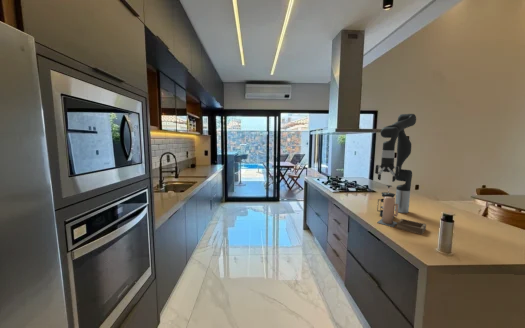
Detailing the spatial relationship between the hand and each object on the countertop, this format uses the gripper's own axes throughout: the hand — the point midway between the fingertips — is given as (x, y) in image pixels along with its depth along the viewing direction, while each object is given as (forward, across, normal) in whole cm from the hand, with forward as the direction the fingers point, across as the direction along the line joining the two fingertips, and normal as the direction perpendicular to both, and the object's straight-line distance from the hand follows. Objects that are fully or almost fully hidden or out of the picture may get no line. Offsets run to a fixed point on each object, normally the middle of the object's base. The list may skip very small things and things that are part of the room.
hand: (386, 180), depth 153 cm
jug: (+28, -4, +3) cm, 28 cm away
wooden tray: (+28, -17, +3) cm, 33 cm away
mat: (+28, -4, +3) cm, 28 cm away
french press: (+28, +2, -12) cm, 31 cm away
